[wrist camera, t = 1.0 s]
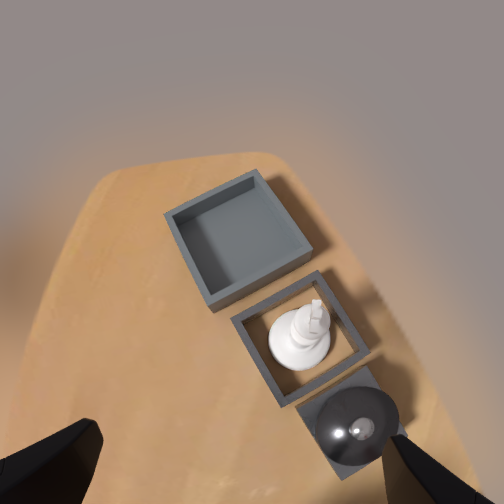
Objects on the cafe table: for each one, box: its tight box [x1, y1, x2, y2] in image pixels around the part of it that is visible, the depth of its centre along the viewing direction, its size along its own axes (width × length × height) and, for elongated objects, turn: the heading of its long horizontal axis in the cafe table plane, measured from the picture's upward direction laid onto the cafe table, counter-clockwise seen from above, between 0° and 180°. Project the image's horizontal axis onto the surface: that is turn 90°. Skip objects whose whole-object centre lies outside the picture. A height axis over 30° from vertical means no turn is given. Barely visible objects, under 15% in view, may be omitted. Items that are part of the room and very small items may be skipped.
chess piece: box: [268, 299, 330, 371], centre depth 19 cm, size 5×5×10 cm
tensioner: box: [230, 270, 408, 481], centre depth 20 cm, size 15×8×4 cm, turn 29°
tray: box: [164, 169, 313, 313], centre depth 26 cm, size 9×9×2 cm
